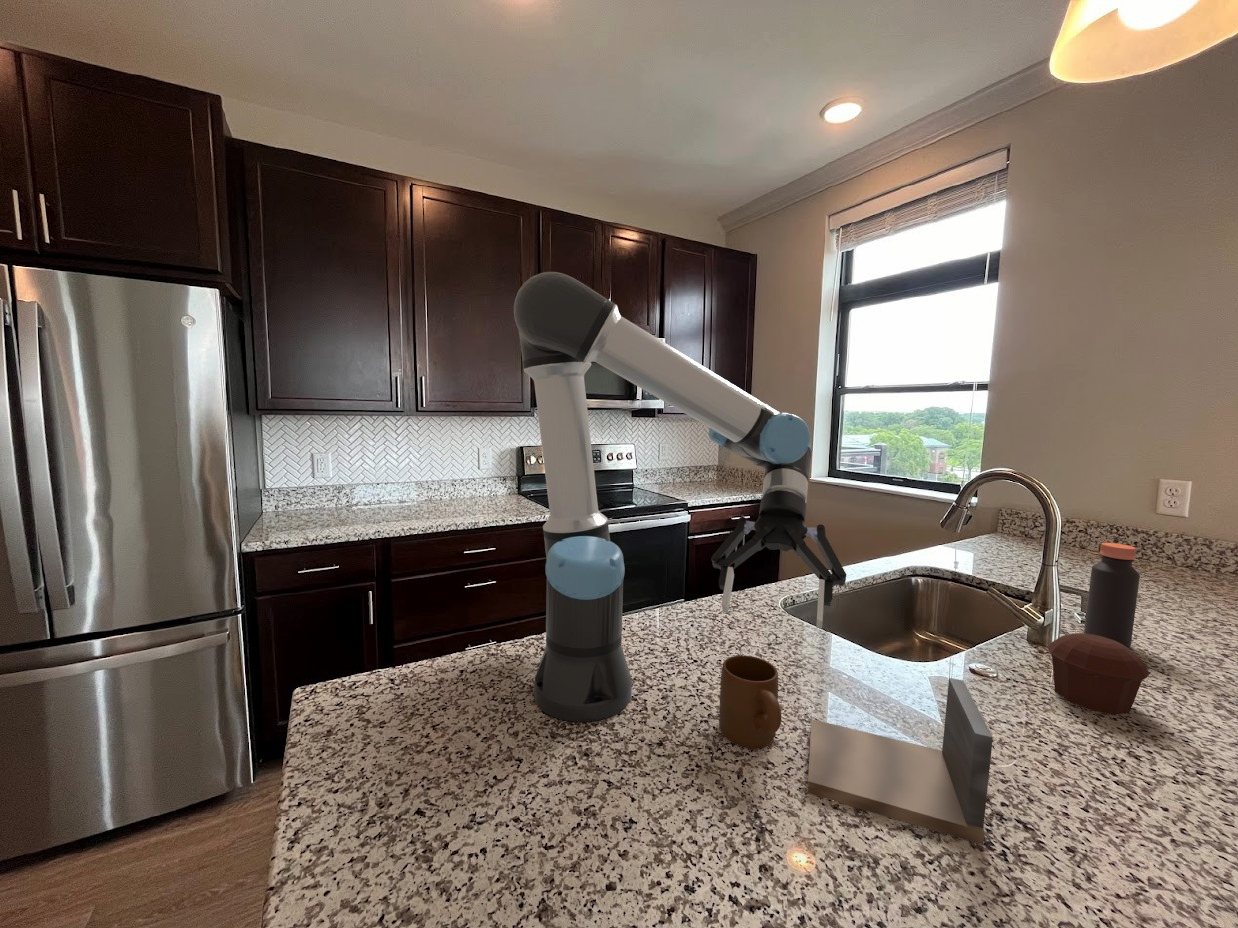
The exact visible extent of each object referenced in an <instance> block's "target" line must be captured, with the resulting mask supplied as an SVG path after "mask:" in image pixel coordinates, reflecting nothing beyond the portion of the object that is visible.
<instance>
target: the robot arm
mask: <svg viewBox="0 0 1238 928" xmlns="http://www.w3.org/2000/svg"><path fill="white" fill-rule="evenodd" d="M513 318H514V321H515V325H516V327H517V329H518V335H519V343H520V350H521V351H520V352H521V358H522V360H521V361H522V366H523V372H524V373H525V374H527V375H528V376H529V377H530V378H531V379H532V380H533V383H534V392H535V401H536V409H537V417H538V424H539V432H540V442H541V451H542V457H543V458H542V459H543V468H544V475H545V483H546V491H547V492H546V493H547V501H548V507H549V508H548V510H549V517H548V519H547V520H546V522H545V523H544V524H543V525H542V531H543V539H544V548H545V556H546V557H545V558H546V561H545V576H546V594H545V595H546V603H545V604H546V605H545V606H546V607H545V609H546V613H545V615H546V616H545V618H546V619H545V647H544V650H543V653H542V657H541V659H540V662H539V664H538V668H537V670H536V673H535V677H534V681H533V699H534V702H535V704H536V705H537V707H538V708H539V709H540V710H541V711H543V712H544V713H546V714H547V715H548V716H551V717H553V718H555V719H559V720H563V721H567V722H578V723H580V722H581V723H582V722H583V723H584V722H594V721H600V720H603V719H607V718H610V717H612V716H614V715H616V714H618V713H620V712H621V711H622V710H624V709H625V708H626V707H627V706H628V705H629V703H630V702H631V699H632V693H633V692H632V691H633V690H632V688H633V686H632V685H633V680H632V676H631V673H630V669H629V665H628V662H627V660H626V656H625V653H624V648H623V646H622V641H623V640H622V637H623V605H624V603H623V601H624V599H623V597H624V595H623V594H624V577H625V574H626V573H625V569H626V568H625V563H624V554H623V552H622V550H621V548H620V547H619V546H618V545H617V544H616V543H615V542H613V541H611V538H610V537H611V536H610V529H609V519H608V517H607V516H606V515H604V514H603V513H602V512H600V510H599V504H598V496H597V488H596V477H595V469H594V468H595V467H594V459H593V450H592V449H593V448H592V441H591V431H590V423H589V411H588V404H587V394H586V392H587V391H586V384H585V383H586V382H585V374H586V373H587V372H588V370H589V369H590V368H591V366H592V362H594V363H596V364H598V365H600V366H602V367H604V368H605V369H606V370H609V371H611V372H613V373H614V374H616V375H617V376H619V377H621V378H623V379H624V380H627V381H628V382H630V383H631V384H633V385H635V386H636V387H638V388H641V390H643V391H645V392H647V393H649V394H651V395H652V396H654V397H655V398H656V399H659V400H660V401H663V402H664V403H666V404H667V405H669V406H671V407H673V408H675V409H677V410H678V411H680V412H682V413H683V414H685V415H686V416H688V417H690V418H692V419H694V420H695V421H697V422H699V423H701V424H703V426H706V427H708V428H709V430H708V437H709V439H710V441H712V442H713V443H715V444H717V445H719V446H720V447H721V448H722V449H723V448H724V449H726V450H728V451H730V452H732V453H733V454H735V455H737V456H739V457H741V458H743V459H745V460H747V461H749V462H751V463H752V464H754V465H756V466H758V467H760V468H762V469H763V470H764V478H763V485H762V491H761V499H760V505H759V514H758V518H757V520H756V521H750V520H747V518H746V517H745V516H740V517H739V518H738V521H737V524H736V527H735V528H734V529H733V530H732V532H731V533H729V535H728V536H727V537H726V538H725V540H724V541H723V542H722V544H720V546H719V547H718V548H717V549H716V551H715V552H714V553H713V554H712V556H711V562H712V563H711V564H712V567H713V568H714V569H719V570H720V573H719V578H718V586H719V590H723V593H722V598H721V608H722V612H723V613H729V608H730V603H731V597H732V592H733V591H732V590H733V585H734V579H735V573H734V572H735V571H734V570H735V569H736V568H737V567H738V566H740V565H742V564H743V563H744V562H745V561H746V560H747V559H749V558H751V556H753V555H754V554H756V553H757V552H760V551H762V550H763V549H765V548H767V549H768V550H770V551H771V550H772V551H775V550H780V551H782V552H789V551H791V550H793V552H794V553H795V554H796V555H797V556H798V557H800V559H802V561H803V562H804V563H805V565H806V566H807V567H808V568H809V570H811V572H813V574H814V575H815V577H817V579H818V592H817V593H818V594H817V610H816V611H817V612H816V613H817V614H816V626H815V627H816V628H817V629H821V630H822V629H823V622H824V606H826V607H831V605H832V604H833V590H834V588H833V587H835V586H841V587H842V586H844V585H846V580H847V573H846V570H845V568H844V567H843V565H842V564H841V562H840V560H839V558H838V556H837V554H836V553H835V551H834V549H833V547H832V546H831V543H830V542H829V539H828V538H827V537H826V528H825V527H826V526H825V525H823V524H818V525H816V527H808V526H807V525H806V515H807V500H808V491H809V488H808V487H809V476H810V466H811V465H810V464H811V459H812V458H811V457H812V443H811V430H810V429H809V426H808V425H807V422H805V420H804V419H802V418H801V417H799V416H798V415H795V414H791V413H789V412H780V411H778V410H776V409H774V408H773V407H772V406H770V405H768V404H767V403H764V402H762V401H761V400H760V399H758V398H756V397H754V396H753V395H751V394H750V393H748V392H746V391H745V390H743V389H741V388H740V387H738V386H737V385H735V384H733V383H731V382H730V381H728V380H727V379H725V378H724V377H722V376H720V375H719V374H716V373H715V372H714V371H712V370H710V369H709V368H707V367H705V366H704V365H702V364H700V363H699V362H697V361H695V360H694V359H692V358H691V357H689V356H687V355H686V354H684V353H682V352H681V351H679V350H678V349H676V348H674V347H672V346H671V345H669V344H668V343H667V342H664V341H663V340H661V339H659V338H658V337H656V336H655V335H653V334H652V333H649V332H648V331H647V330H645V329H643V328H641V327H640V326H638V325H636V324H635V323H633V322H631V321H630V320H628V319H626V318H625V317H623V316H622V315H621V313H620V312H619V307H618V305H617V304H616V303H614V302H613V301H611V300H609V298H606V297H604V296H603V295H601V294H600V293H598V292H596V291H595V290H594V289H592V288H591V287H589V286H587V285H586V284H585V283H583V282H581V281H580V280H577V279H576V278H575V277H572V276H570V275H568V274H565V273H562V272H558V271H543V272H540V273H538V274H536V275H533V276H531V277H530V278H529V279H527V280H526V281H525V282H524V283H523V284H522V285H521V286H520V288H519V290H518V291H517V294H516V296H515V300H514V304H513ZM751 531H754V532H755V534H754V535H753V536H752V537H751V539H750V540H748V541H747V542H745V543H744V544H743V545H742V546H740V547H739V548H737V549H736V547H737V546H738V545H739V544H740V543H741V541H742V540H743V539H744V537H745V536H746V535H749V533H750V532H751ZM807 537H810V538H811V540H812V542H814V543H816V545H817V547H818V550H819V551H820V552H819V553H820V554H821V555H822V557H823V559H824V561H825V563H826V565H827V567H828V568H827V567H826V566H825V565H824V564H823V562H822V561H821V560H820V558H818V557H817V555H816V554H815V553H814V552H813V551H812V550H811V549H810V548H809V546H808V545H807V543H806V542H805V539H806V538H807ZM735 549H736V550H735ZM734 550H735V551H734Z"/></svg>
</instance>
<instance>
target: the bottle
mask: <svg viewBox="0 0 1238 928" xmlns="http://www.w3.org/2000/svg"><path fill="white" fill-rule="evenodd" d="M1136 553H1137V548H1136V547H1135V546H1131V545H1127V544H1123V543H1114V542H1101V543H1100V551H1099V556H1100V558H1101V560H1100V561H1099V562H1097V563H1095V564H1093V565H1092V567H1091V571H1090V580H1089V588H1088V597H1087V603H1086V604H1087V605H1086V611H1085V613H1086V614H1085V622H1084V628H1083V629H1084V630H1083V633H1085V634H1093V635H1098V636H1102V637H1105V638H1108V639H1111V640H1114V641H1116V642H1119V643H1121V644H1122V645H1124V646H1126V647H1127V648H1129V649H1131V647H1132V641H1133V640H1132V639H1133V632H1134V623H1135V616H1136V608H1137V601H1138V593H1139V585H1140V578H1141V576H1140V573H1139V571H1137V570H1136V568H1135V567H1133V566H1132V565H1133V563H1134V562H1135V560H1136V556H1137V555H1136Z"/></svg>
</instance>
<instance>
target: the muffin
mask: <svg viewBox="0 0 1238 928" xmlns="http://www.w3.org/2000/svg"><path fill="white" fill-rule="evenodd" d="M1046 648H1047V650H1048V652H1049V654H1050V655H1051V661H1052V674H1053V682H1054V683H1053V685H1054V693H1056V694H1058V695H1059V696H1061V697H1062V698H1064V699H1065V700H1066V702H1069V703H1072V704H1074V705H1077V706H1078V707H1079V706H1080V707H1081V708H1084V709H1086V710H1088V711H1092V712H1097V713H1103V714H1105V715H1106V714H1108V715H1112V716H1118V715H1119V716H1120V715H1129V714H1130V712H1131V711H1132V707H1133V705H1134V703H1135V699H1136V698H1137V694H1138V693H1139V689H1140V687H1141V685H1142V682H1143V680H1146V679H1147V678H1148V677H1149V676H1150V675H1151V672H1150V671H1149V669H1148V667H1147V665H1146V663H1145V662H1144V661H1143V660H1142V658H1140V656H1138V655H1137V653H1135V652H1134V651H1133V650H1131V648H1127V647H1126V646H1124V645H1122V644H1121V643H1119V642H1116V641H1114V640H1111V639H1108V638H1105V637H1102V636H1098V635H1093V634H1085V633H1084V632H1075V633H1068V634H1063V635H1061V636H1060V637H1058V638H1056V639H1054V640H1053V641H1051V643H1050V644H1049V645H1048V646H1047V647H1046Z"/></svg>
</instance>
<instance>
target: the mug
mask: <svg viewBox="0 0 1238 928" xmlns="http://www.w3.org/2000/svg"><path fill="white" fill-rule="evenodd" d="M719 688H720V689H719V692H720V693H719V714H718V715H719V716H718V721H719V722H718V724H719V730H720V732H721V734H722V736H723V737H724V738H725V739H726V740H728V741H729V742H730V743H732V744H734V745H736V746H738V747H741V748H745V749H751V750H756V749H757V750H758V749H762V748H766V747H768V746H769V745H771V744H772V743H773V742H774V740H775V736H776V733H777V731H779V729H780V726H781V724H782V723H781V722H782V710H781V706H780V705H781V704H780V702H779V672H778V670H777V668H776V666H775V665H773V664H772V663H770V662H769V661H767V660H765V659H763V658H760V657H756V656H752V655H743V654H742V655H734V656H730V657H728V658H726V659H725V660H724V661H723V663H722V667H721V675H720V685H719Z"/></svg>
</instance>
